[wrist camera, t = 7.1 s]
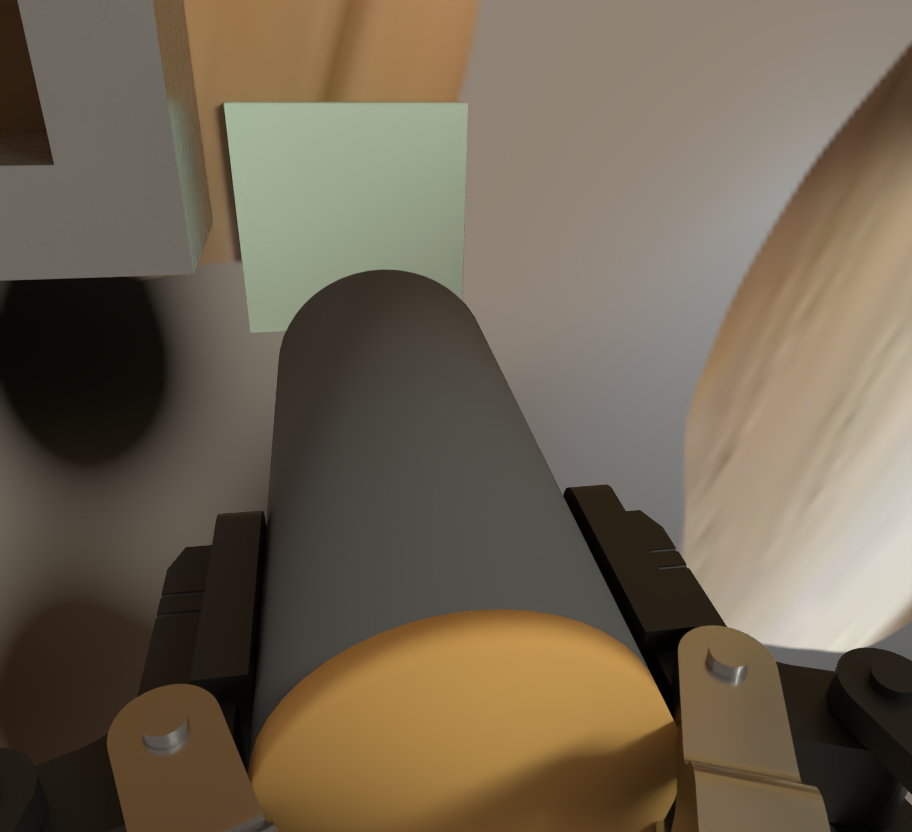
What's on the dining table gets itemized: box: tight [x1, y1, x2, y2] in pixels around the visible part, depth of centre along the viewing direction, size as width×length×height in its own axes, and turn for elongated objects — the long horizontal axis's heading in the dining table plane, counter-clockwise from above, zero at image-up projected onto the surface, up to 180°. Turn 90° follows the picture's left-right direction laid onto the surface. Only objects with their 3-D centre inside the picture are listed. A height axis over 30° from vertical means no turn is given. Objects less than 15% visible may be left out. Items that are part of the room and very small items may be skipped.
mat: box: [224, 102, 468, 333], centre depth 31 cm, size 9×9×1 cm
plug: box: [247, 269, 678, 832], centre depth 14 cm, size 5×5×12 cm
